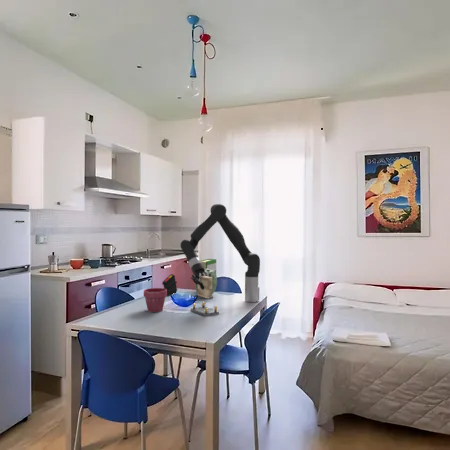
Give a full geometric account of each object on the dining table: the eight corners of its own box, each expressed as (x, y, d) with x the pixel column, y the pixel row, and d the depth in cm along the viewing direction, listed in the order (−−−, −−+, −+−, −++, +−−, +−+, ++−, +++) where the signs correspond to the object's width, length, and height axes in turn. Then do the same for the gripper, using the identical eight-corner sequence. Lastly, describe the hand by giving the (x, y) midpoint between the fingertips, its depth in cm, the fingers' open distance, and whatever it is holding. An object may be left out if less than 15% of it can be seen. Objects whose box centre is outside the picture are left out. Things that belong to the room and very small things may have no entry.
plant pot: (149, 307, 232) (149, 287, 232) (170, 308, 229) (170, 288, 229) (139, 312, 218) (139, 291, 218) (161, 314, 215) (161, 292, 215)
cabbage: (190, 297, 261) (190, 270, 261) (202, 293, 278) (203, 267, 278) (209, 299, 255) (209, 271, 254) (221, 295, 272) (221, 268, 271)
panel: (203, 294, 225) (203, 275, 225) (212, 297, 217) (212, 277, 216) (197, 295, 222) (197, 275, 222) (206, 298, 214) (206, 278, 214)
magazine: (179, 290, 277) (174, 274, 272) (169, 301, 267) (164, 284, 261) (176, 290, 279) (170, 273, 274) (165, 300, 269) (160, 283, 263)
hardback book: (206, 292, 282) (207, 261, 282) (198, 291, 285) (198, 260, 285) (216, 288, 299) (216, 259, 298) (207, 287, 302) (208, 258, 301)
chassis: (204, 308, 229) (204, 301, 229) (219, 314, 216) (219, 306, 216) (190, 310, 223) (190, 303, 223) (204, 316, 210) (205, 308, 210)
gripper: (188, 263, 221) (199, 286, 211) (208, 261, 229) (218, 283, 220) (184, 270, 225) (194, 293, 216) (203, 269, 234) (213, 291, 224)
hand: (206, 288), depth 218 cm, fingers closed on panel, 4 cm apart
